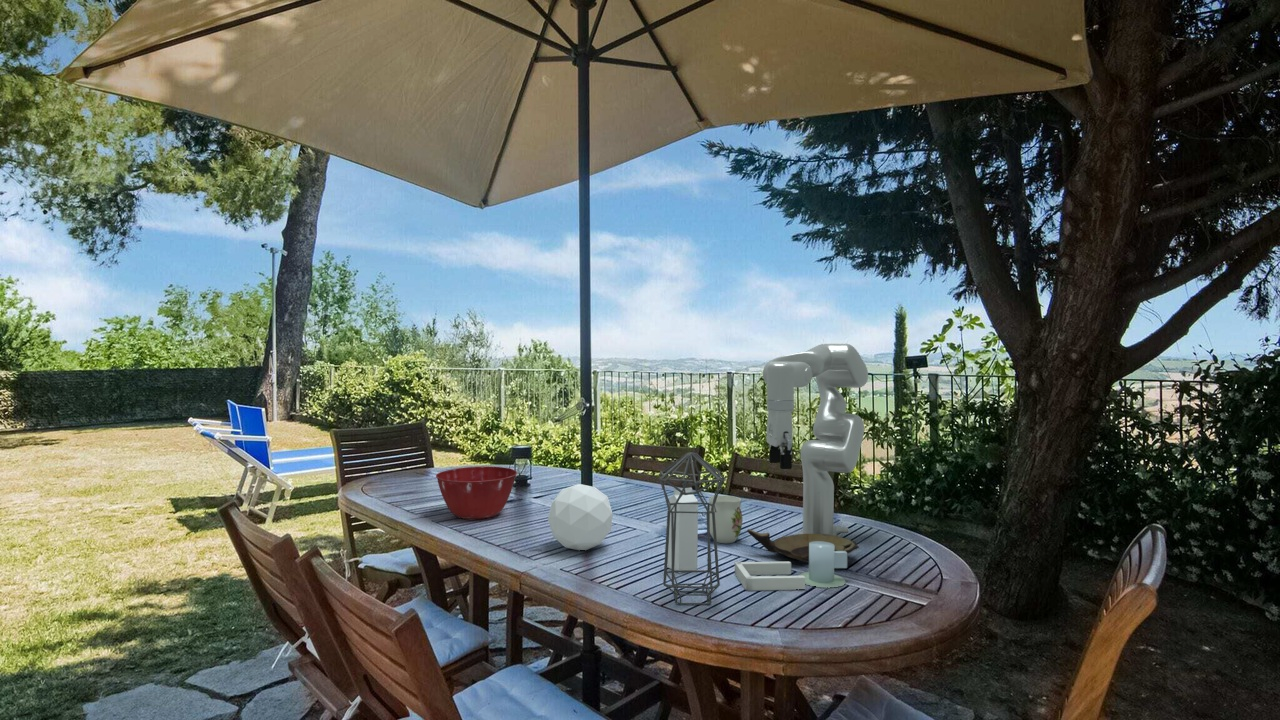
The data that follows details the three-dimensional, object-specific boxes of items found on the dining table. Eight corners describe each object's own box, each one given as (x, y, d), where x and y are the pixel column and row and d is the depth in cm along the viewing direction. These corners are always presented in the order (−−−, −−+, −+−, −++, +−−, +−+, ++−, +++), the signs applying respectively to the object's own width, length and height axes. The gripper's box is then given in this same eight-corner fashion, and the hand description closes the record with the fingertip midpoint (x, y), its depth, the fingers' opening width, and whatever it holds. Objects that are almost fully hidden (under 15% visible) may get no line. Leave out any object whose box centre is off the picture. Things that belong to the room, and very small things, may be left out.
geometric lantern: (659, 609, 150) (658, 456, 151) (660, 587, 166) (659, 448, 166) (728, 610, 149) (727, 456, 150) (722, 588, 165) (722, 448, 166)
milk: (697, 570, 178) (699, 489, 178) (678, 573, 175) (680, 491, 175) (685, 564, 183) (686, 485, 183) (666, 567, 180) (668, 487, 180)
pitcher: (752, 535, 213) (753, 493, 213) (730, 549, 198) (730, 503, 198) (721, 530, 219) (722, 489, 219) (697, 543, 204) (698, 499, 204)
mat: (835, 572, 177) (835, 571, 177) (852, 588, 165) (852, 586, 165) (791, 573, 177) (791, 572, 177) (806, 588, 165) (806, 587, 165)
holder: (789, 572, 177) (789, 561, 177) (805, 589, 164) (805, 577, 164) (734, 573, 176) (734, 562, 176) (746, 590, 163) (746, 578, 163)
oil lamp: (848, 577, 174) (848, 548, 174) (741, 559, 189) (741, 532, 189) (864, 555, 193) (865, 529, 193) (766, 540, 208) (766, 516, 208)
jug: (813, 583, 168) (813, 548, 168) (805, 575, 174) (805, 541, 174) (850, 582, 168) (851, 547, 168) (841, 574, 175) (841, 540, 175)
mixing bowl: (474, 529, 217) (474, 483, 217) (418, 517, 233) (418, 474, 233) (532, 513, 241) (533, 471, 241) (478, 503, 257) (478, 463, 256)
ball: (586, 565, 203) (614, 507, 212) (601, 559, 185) (631, 497, 194) (532, 535, 202) (562, 478, 211) (542, 527, 184) (575, 466, 193)
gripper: (758, 403, 196) (758, 460, 196) (777, 409, 178) (777, 471, 179) (783, 403, 196) (783, 460, 197) (803, 408, 179) (803, 471, 180)
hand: (780, 465), depth 188 cm, fingers open, 9 cm apart
